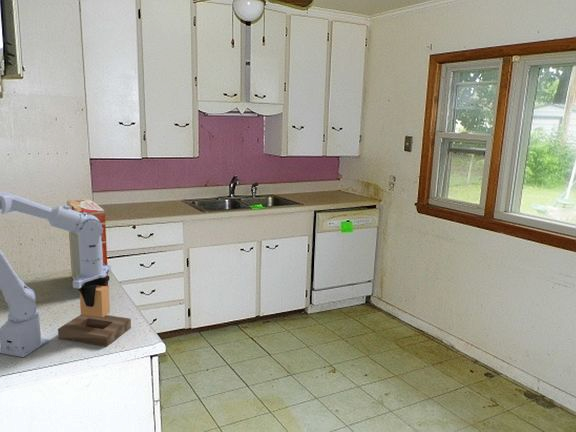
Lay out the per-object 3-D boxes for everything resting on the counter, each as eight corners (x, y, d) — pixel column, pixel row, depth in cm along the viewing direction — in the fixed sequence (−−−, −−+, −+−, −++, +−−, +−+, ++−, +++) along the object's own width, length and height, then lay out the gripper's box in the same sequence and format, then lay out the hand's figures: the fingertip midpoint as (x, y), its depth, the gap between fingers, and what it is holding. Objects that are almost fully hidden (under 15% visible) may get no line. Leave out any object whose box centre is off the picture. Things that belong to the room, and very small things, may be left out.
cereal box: (108, 292, 164) (104, 210, 158) (84, 297, 160) (79, 212, 153) (93, 273, 183) (89, 199, 176) (71, 276, 178) (66, 200, 172)
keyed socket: (107, 346, 127) (106, 336, 127) (58, 338, 131) (57, 328, 130) (131, 327, 139) (130, 318, 138) (85, 320, 142) (85, 311, 142)
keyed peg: (102, 317, 131) (101, 291, 129) (80, 314, 133) (79, 288, 131) (109, 312, 134) (108, 286, 133) (88, 309, 136) (87, 283, 134)
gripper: (87, 267, 122) (90, 315, 125) (119, 252, 136) (121, 295, 139) (64, 264, 124) (67, 311, 127) (98, 250, 137) (100, 292, 140)
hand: (94, 303), depth 133 cm, fingers closed on keyed peg, 3 cm apart
